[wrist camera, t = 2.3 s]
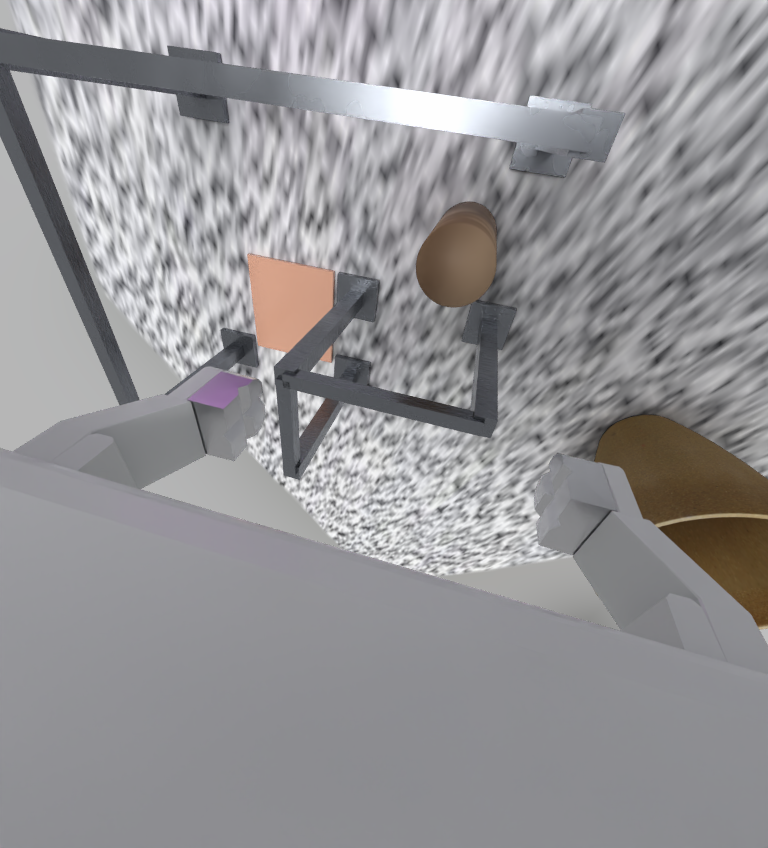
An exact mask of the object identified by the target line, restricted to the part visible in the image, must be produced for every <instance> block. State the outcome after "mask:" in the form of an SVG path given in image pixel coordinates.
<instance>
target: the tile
mask: <svg viewBox="0 0 768 848" xmlns="http://www.w3.org/2000/svg"><path fill="white" fill-rule="evenodd" d="M247 256H248V265H249V273H250V281H251V290H252V298H253V307H254V315H255V324H256V332H257V340H258V346H262V347H267V348H271V349H275V350H279V351H284V352H289V351H290V350H291V349H292V348H293V347H294V346H295V345H296V344H297V343H298V342H299V341H300V340H301V339H302V338H303V337H304V336H305V335H306V334H307V333H308V332H309V331H310V330H311V329H312V328H313V327H314V326H315V325H316V324H317V323H318V322H319V321H320V320H321V319H322V318H323V317H324V316H325V315H326V314H327V313H328V312H329V311H330V310H331V309H332V308H333V307H334V284H335V271H332V270H328V269H323V268H318V267H313V266H308V265H303V264H298V263H293V262H288V261H284V260H279V259H274V258H269V257H264V256H259V255H254V254H247ZM332 354H333V344H332V345H331V346H330V348H329V349H328V350H327V351H326V352H325V354H324V355H323V356H322V357H321V359H320V360H322V361H326V362H330V363H331V362H332Z"/></svg>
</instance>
